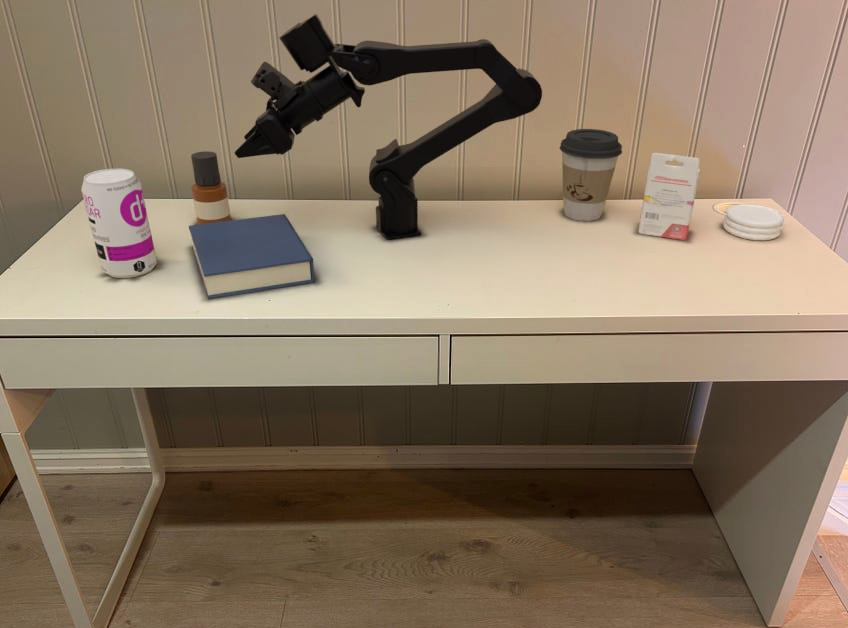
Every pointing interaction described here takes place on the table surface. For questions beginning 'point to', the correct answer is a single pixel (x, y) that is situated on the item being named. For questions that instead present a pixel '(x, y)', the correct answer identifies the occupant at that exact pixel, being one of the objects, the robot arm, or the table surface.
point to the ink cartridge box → (669, 196)
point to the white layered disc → (753, 222)
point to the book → (250, 255)
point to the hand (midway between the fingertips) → (241, 147)
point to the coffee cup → (588, 171)
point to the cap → (205, 168)
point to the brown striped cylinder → (211, 203)
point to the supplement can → (119, 222)
